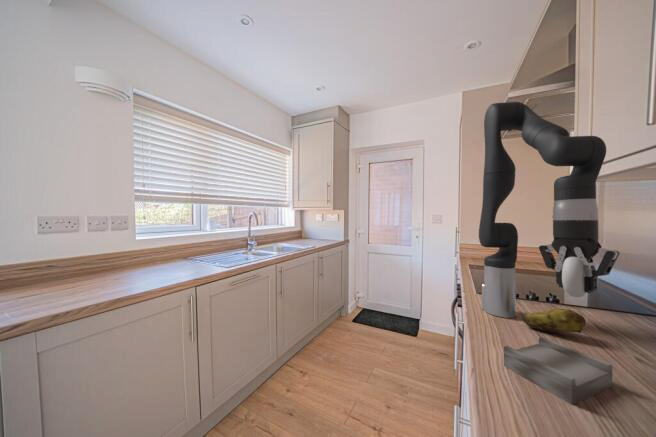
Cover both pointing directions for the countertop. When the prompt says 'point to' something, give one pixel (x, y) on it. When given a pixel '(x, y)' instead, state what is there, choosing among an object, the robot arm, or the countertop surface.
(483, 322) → the countertop surface
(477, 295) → the countertop surface
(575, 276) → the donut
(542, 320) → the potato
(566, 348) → the base
